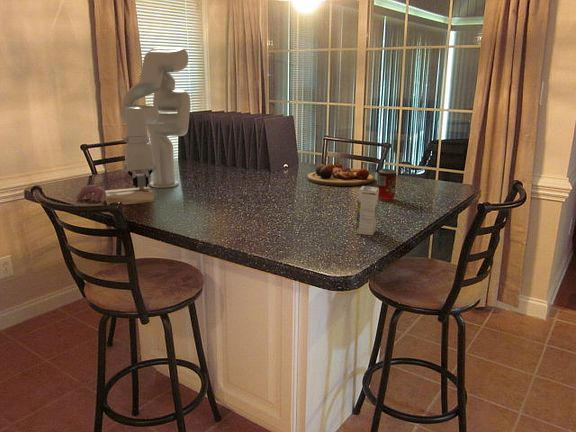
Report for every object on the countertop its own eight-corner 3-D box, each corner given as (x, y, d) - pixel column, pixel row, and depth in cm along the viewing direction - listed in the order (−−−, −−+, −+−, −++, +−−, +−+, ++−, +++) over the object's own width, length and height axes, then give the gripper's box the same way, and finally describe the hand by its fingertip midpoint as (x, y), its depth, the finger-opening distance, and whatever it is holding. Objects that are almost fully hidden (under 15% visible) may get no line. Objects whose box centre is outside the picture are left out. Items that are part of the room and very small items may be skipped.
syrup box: (358, 228, 158) (360, 185, 154) (376, 230, 157) (379, 187, 153) (355, 233, 153) (357, 189, 149) (374, 235, 151) (376, 191, 147)
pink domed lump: (103, 204, 190) (107, 187, 191) (96, 201, 185) (100, 184, 187) (83, 202, 193) (86, 185, 194) (75, 199, 188) (79, 182, 189)
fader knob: (136, 187, 191) (135, 174, 190) (144, 187, 192) (143, 173, 191) (138, 190, 187) (137, 176, 185) (146, 190, 188) (145, 175, 187)
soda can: (390, 202, 190) (392, 172, 187) (373, 200, 194) (375, 170, 191) (397, 199, 196) (399, 169, 193) (381, 196, 200) (383, 167, 197)
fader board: (105, 200, 189) (104, 190, 188) (149, 196, 196) (149, 186, 195) (107, 206, 182) (106, 195, 180) (153, 201, 189) (153, 191, 187)
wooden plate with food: (387, 182, 228) (389, 165, 225) (335, 189, 210) (336, 171, 208) (343, 172, 253) (344, 156, 251) (294, 178, 236) (294, 161, 234)
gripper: (116, 142, 178) (120, 190, 183) (161, 140, 184) (164, 187, 189) (113, 139, 184) (118, 186, 189) (157, 138, 191) (160, 183, 196)
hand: (141, 186), depth 189 cm, fingers closed on fader knob, 3 cm apart
